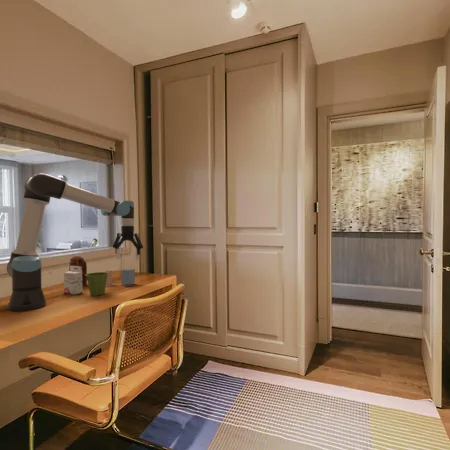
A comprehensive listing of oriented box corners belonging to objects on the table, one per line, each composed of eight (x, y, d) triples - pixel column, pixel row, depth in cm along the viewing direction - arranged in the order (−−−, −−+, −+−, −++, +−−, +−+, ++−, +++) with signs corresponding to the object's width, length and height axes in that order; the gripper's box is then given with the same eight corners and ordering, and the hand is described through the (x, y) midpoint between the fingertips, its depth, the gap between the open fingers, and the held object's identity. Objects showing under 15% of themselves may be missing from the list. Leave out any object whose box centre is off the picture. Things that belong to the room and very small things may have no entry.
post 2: (129, 286, 189) (129, 271, 188) (121, 285, 190) (121, 271, 190) (135, 284, 194) (134, 269, 194) (126, 283, 196) (126, 269, 196)
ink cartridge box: (63, 293, 171) (63, 267, 170) (70, 291, 176) (70, 265, 175) (76, 294, 169) (76, 267, 168) (82, 292, 173) (82, 266, 173)
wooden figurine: (65, 286, 189) (65, 256, 188) (71, 283, 195) (71, 255, 195) (84, 286, 188) (83, 257, 188) (89, 284, 194) (89, 255, 194)
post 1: (110, 286, 188) (109, 271, 187) (101, 285, 189) (101, 271, 189) (116, 284, 193) (115, 270, 193) (107, 283, 195) (107, 269, 195)
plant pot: (109, 290, 177) (109, 271, 176) (108, 295, 165) (108, 275, 165) (86, 292, 173) (86, 272, 172) (84, 297, 162) (84, 276, 161)
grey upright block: (129, 284, 189) (129, 270, 189) (121, 283, 190) (121, 270, 190) (134, 282, 194) (134, 269, 194) (126, 282, 196) (126, 268, 196)
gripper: (148, 225, 192) (148, 259, 192) (114, 225, 198) (114, 258, 199) (142, 225, 184) (142, 261, 185) (106, 225, 191) (106, 259, 192)
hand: (127, 259), depth 192 cm, fingers open, 13 cm apart
